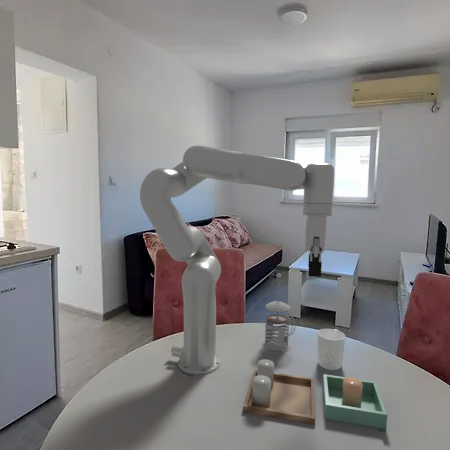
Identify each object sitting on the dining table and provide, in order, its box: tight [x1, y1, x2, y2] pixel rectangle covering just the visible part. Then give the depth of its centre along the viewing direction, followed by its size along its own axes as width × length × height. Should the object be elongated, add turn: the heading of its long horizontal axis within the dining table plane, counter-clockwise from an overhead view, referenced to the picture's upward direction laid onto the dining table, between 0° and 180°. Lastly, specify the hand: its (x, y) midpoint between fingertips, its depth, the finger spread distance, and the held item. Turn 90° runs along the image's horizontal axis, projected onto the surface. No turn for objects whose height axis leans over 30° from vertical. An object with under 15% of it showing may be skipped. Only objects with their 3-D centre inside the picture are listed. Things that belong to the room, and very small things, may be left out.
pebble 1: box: [256, 358, 275, 388], centre depth 89 cm, size 4×4×6 cm
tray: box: [242, 369, 316, 426], centre depth 85 cm, size 16×16×2 cm
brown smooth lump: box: [342, 376, 363, 408], centre depth 82 cm, size 4×4×6 cm
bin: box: [322, 373, 388, 432], centre depth 82 cm, size 13×13×4 cm
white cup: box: [317, 328, 346, 371], centre depth 101 cm, size 8×8×10 cm
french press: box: [261, 273, 296, 353], centre depth 111 cm, size 10×12×25 cm
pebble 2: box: [252, 375, 271, 408], centre depth 82 cm, size 4×4×6 cm
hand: (314, 271), depth 92 cm, fingers open, 9 cm apart
